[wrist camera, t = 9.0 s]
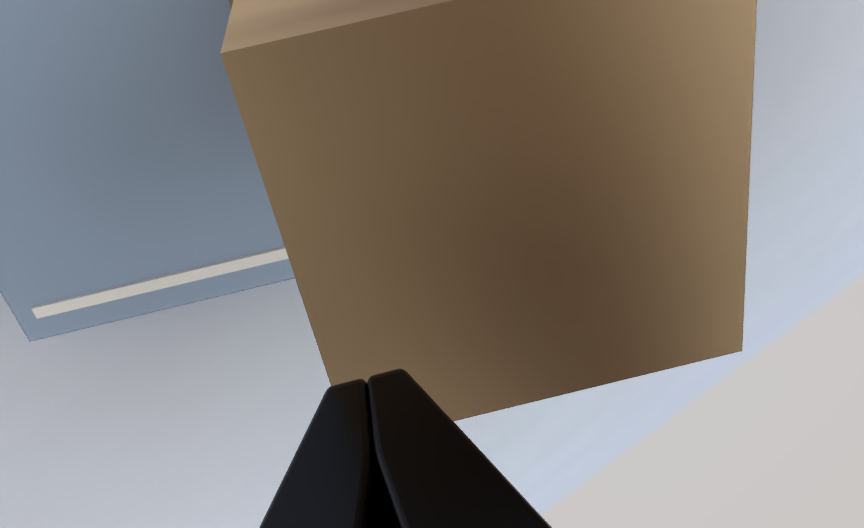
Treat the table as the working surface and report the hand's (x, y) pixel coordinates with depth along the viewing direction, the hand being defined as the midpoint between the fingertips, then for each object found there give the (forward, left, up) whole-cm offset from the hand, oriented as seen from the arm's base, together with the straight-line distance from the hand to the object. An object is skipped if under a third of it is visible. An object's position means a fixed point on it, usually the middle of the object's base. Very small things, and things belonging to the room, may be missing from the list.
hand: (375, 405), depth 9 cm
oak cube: (+2, +1, -6) cm, 6 cm away
